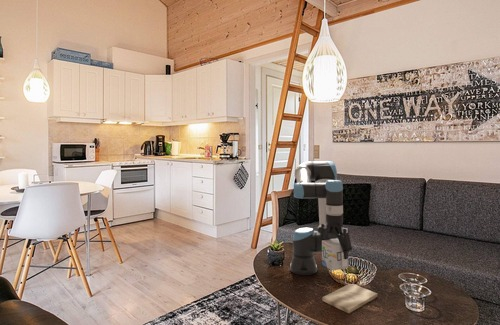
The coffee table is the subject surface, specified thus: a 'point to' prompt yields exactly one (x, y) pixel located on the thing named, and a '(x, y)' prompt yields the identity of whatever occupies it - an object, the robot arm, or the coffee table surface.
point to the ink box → (332, 254)
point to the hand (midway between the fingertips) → (335, 262)
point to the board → (349, 297)
